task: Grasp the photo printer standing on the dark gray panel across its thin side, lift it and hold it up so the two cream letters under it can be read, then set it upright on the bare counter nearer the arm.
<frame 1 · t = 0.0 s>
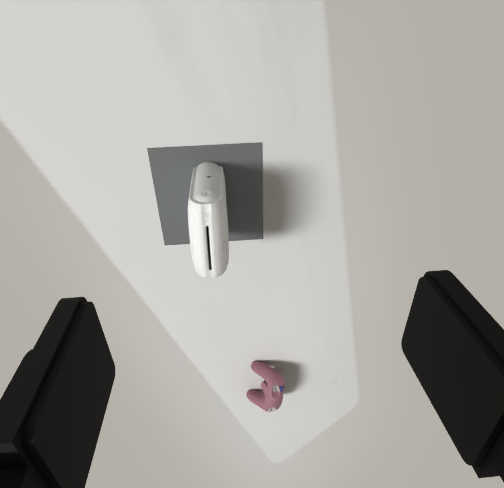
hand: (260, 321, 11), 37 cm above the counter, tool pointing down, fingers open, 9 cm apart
video game controller: (263, 375, 70), on the counter
dark gray panel: (210, 197, 48), on the counter
photo printer: (210, 197, 48), resting on dark gray panel
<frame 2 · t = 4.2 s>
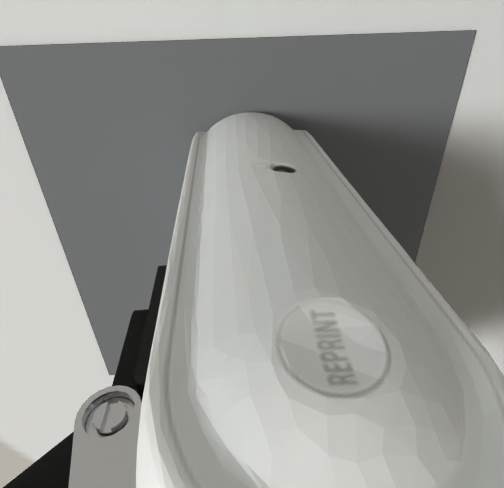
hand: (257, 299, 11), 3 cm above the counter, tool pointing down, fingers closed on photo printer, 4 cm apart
dark gray panel: (249, 242, 14), on the counter
photo printer: (249, 241, 14), resting on dark gray panel, touching gripper
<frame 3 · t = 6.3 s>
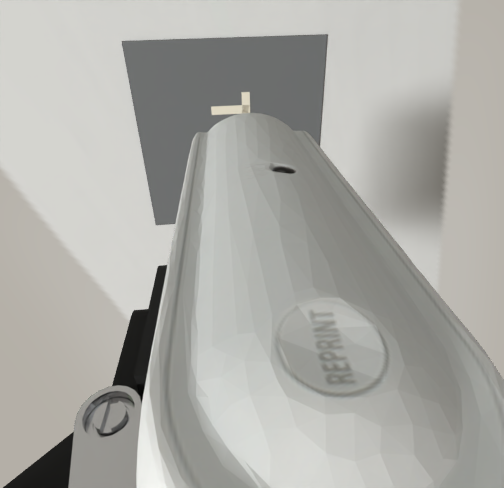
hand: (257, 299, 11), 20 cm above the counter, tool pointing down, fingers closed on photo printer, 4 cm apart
dark gray panel: (231, 140, 28), on the counter
photo printer: (249, 241, 14), point 16 cm above the counter, touching gripper
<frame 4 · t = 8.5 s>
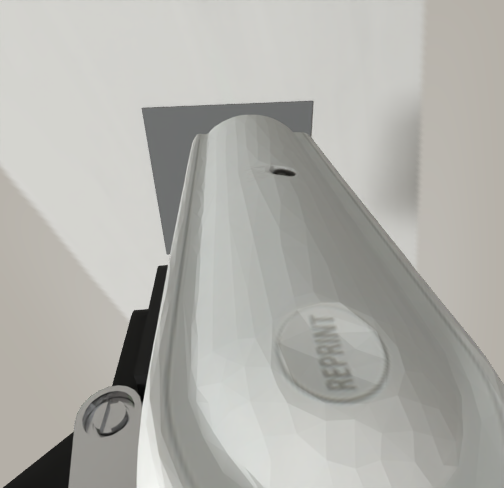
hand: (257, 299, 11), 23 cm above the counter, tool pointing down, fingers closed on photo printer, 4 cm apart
dark gray panel: (232, 184, 33), on the counter
photo printer: (249, 242, 14), point 19 cm above the counter, touching gripper
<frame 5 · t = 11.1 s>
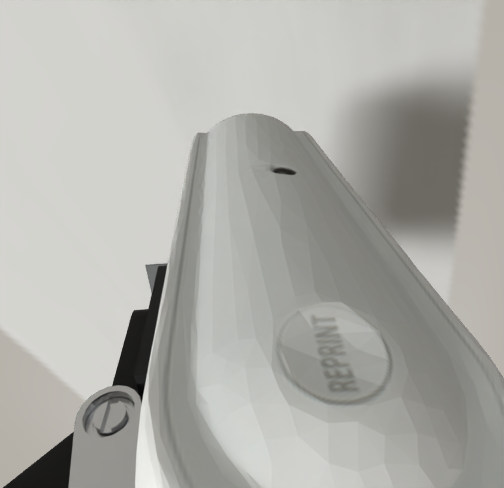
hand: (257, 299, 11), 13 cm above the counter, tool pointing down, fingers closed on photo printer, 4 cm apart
photo printer: (249, 242, 14), point 10 cm above the counter, touching gripper
when the fingers open (4 cm above the counter, at t = 13.1 s): photo printer drops 1 cm, on the counter.
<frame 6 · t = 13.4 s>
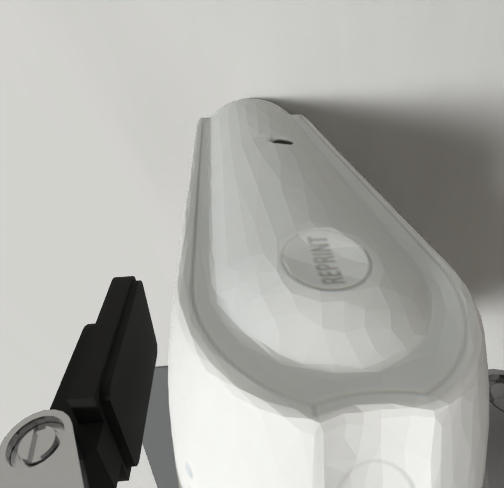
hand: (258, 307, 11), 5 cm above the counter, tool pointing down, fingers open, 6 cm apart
dark gray panel: (254, 432, 23), on the counter
photo printer: (250, 223, 15), on the counter
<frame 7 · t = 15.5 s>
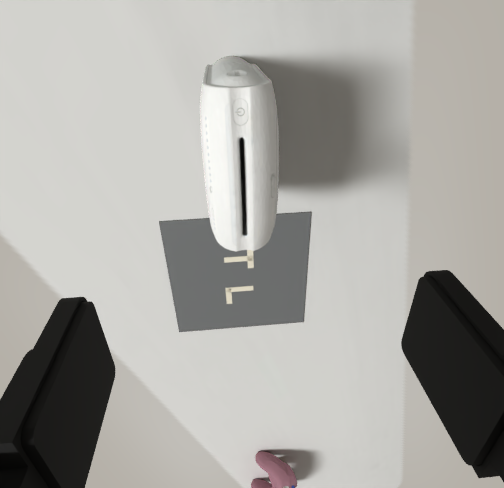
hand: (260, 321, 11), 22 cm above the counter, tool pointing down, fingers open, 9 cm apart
video game controller: (270, 463, 58), on the counter
dark gray panel: (239, 277, 37), on the counter
photo printer: (233, 125, 29), on the counter
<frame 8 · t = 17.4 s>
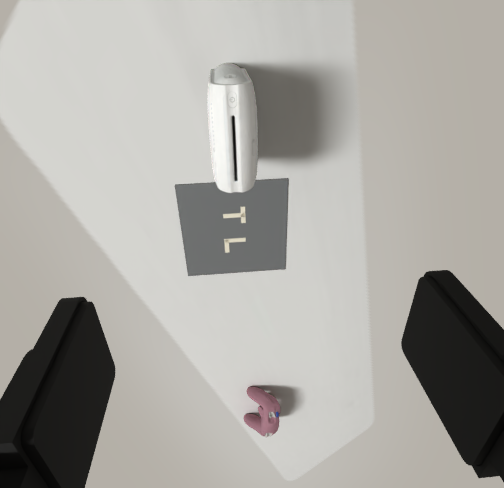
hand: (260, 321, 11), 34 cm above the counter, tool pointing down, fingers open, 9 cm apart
video game controller: (260, 399, 70), on the counter
dark gray panel: (234, 230, 49), on the counter
photo printer: (229, 112, 41), on the counter
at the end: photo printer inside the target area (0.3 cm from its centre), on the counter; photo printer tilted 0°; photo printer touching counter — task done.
